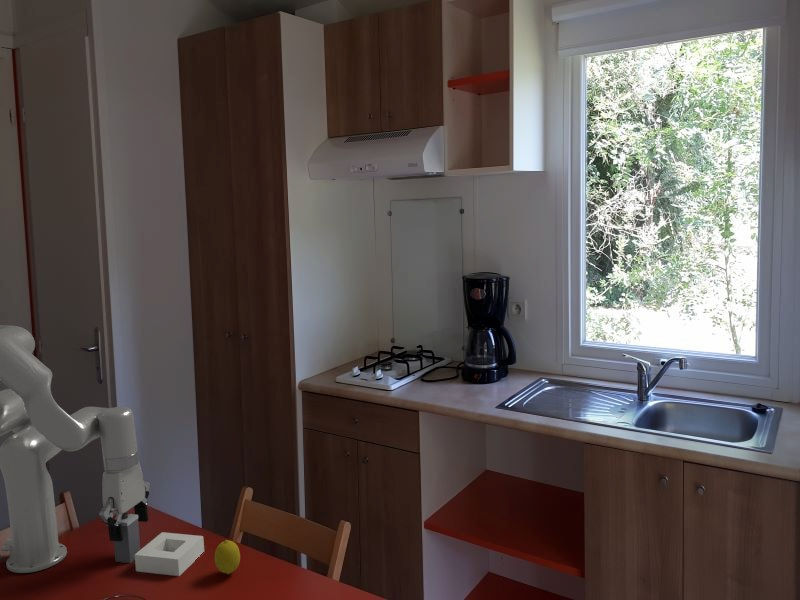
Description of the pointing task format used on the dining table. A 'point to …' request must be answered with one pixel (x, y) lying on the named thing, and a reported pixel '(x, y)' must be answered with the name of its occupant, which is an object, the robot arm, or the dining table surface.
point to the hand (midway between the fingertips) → (129, 530)
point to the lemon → (227, 557)
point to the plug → (128, 539)
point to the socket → (169, 554)
